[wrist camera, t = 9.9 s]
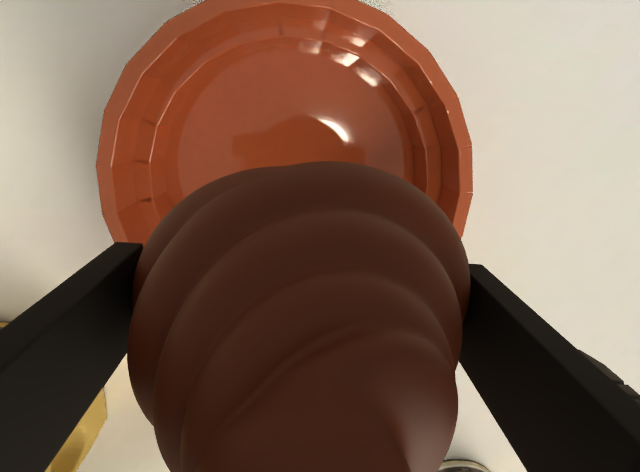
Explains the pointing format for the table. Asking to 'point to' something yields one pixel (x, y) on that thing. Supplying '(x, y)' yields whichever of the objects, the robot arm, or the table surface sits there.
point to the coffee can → (461, 466)
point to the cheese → (79, 436)
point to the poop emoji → (300, 324)
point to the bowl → (277, 106)
